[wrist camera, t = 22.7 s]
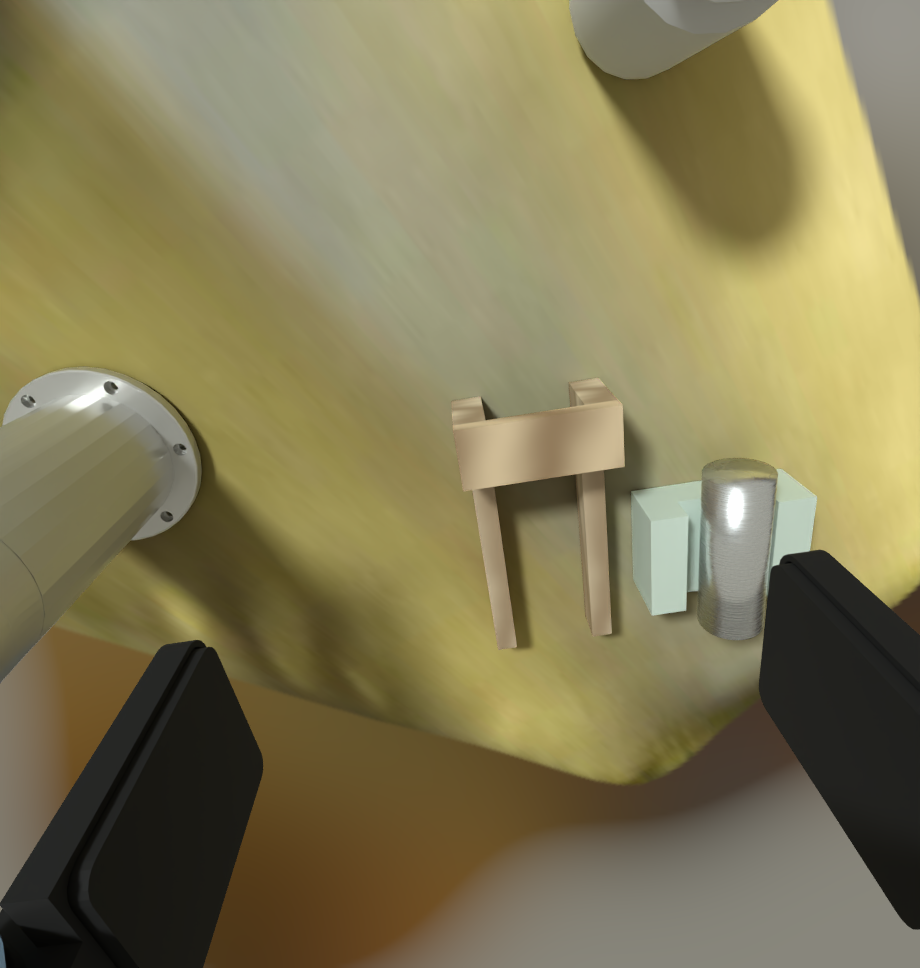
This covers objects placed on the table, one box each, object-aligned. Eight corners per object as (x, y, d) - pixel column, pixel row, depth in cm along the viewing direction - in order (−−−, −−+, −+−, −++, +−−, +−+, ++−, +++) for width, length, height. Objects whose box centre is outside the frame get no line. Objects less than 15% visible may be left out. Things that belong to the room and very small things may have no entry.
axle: (734, 593, 45) (777, 628, 41) (684, 610, 44) (723, 647, 40) (744, 452, 39) (794, 476, 36) (687, 468, 39) (733, 495, 35)
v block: (633, 579, 46) (651, 615, 42) (630, 491, 43) (650, 521, 39) (771, 559, 46) (804, 593, 42) (781, 468, 42) (817, 496, 38)
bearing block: (489, 629, 48) (495, 681, 43) (451, 401, 39) (453, 431, 34) (609, 612, 48) (630, 662, 42) (598, 377, 39) (622, 404, 34)
